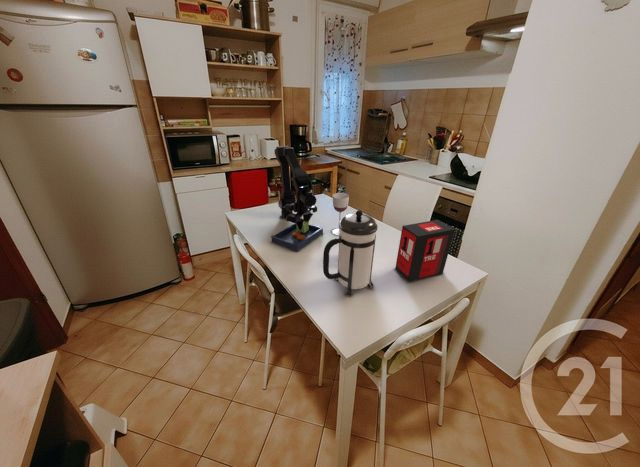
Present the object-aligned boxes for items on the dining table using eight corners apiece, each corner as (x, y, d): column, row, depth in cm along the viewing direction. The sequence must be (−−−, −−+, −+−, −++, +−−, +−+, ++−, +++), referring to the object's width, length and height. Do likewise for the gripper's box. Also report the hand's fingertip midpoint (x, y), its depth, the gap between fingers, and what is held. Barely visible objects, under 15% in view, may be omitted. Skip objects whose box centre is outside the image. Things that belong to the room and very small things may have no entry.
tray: (298, 226, 143) (298, 220, 141) (322, 233, 135) (323, 227, 134) (271, 242, 127) (271, 236, 125) (297, 251, 119) (297, 245, 118)
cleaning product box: (408, 282, 100) (418, 236, 91) (395, 269, 108) (402, 225, 98) (442, 273, 106) (455, 229, 96) (427, 261, 113) (437, 219, 104)
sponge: (301, 227, 138) (301, 219, 136) (309, 229, 136) (308, 222, 134) (296, 230, 135) (296, 222, 133) (304, 232, 133) (304, 224, 131)
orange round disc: (300, 235, 131) (300, 234, 131) (306, 238, 129) (306, 236, 129) (295, 239, 128) (295, 237, 128) (301, 241, 126) (301, 239, 126)
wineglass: (329, 234, 135) (330, 197, 125) (334, 227, 142) (336, 191, 132) (344, 237, 132) (346, 199, 123) (349, 229, 139) (351, 194, 130)
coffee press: (340, 267, 109) (343, 199, 95) (377, 277, 103) (387, 206, 89) (322, 292, 95) (322, 216, 81) (364, 306, 89) (373, 227, 75)
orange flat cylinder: (295, 232, 134) (295, 230, 134) (301, 234, 132) (301, 233, 132) (290, 235, 131) (290, 234, 131) (297, 237, 129) (297, 236, 129)
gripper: (300, 191, 139) (301, 218, 146) (276, 202, 125) (278, 231, 132) (317, 195, 133) (317, 223, 141) (295, 207, 120) (296, 237, 127)
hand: (302, 228), depth 135 cm, fingers closed on sponge, 4 cm apart
